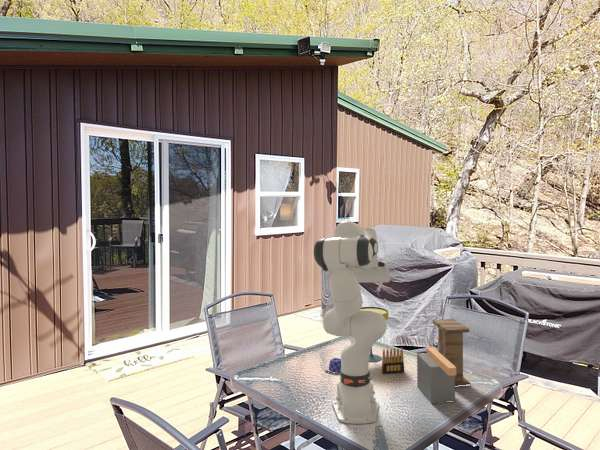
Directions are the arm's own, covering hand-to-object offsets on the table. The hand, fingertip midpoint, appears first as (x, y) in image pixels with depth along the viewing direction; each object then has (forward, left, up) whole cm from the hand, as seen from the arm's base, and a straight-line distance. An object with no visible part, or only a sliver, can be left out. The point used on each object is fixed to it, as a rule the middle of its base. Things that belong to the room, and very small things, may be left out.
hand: (368, 291), depth 216 cm
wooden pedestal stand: (-9, -36, -39) cm, 54 cm away
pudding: (+3, +16, -40) cm, 43 cm away
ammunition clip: (0, -11, -39) cm, 41 cm away
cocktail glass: (+19, -2, -39) cm, 44 cm away
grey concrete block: (-23, -26, -39) cm, 53 cm away
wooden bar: (-29, -27, -24) cm, 46 cm away
